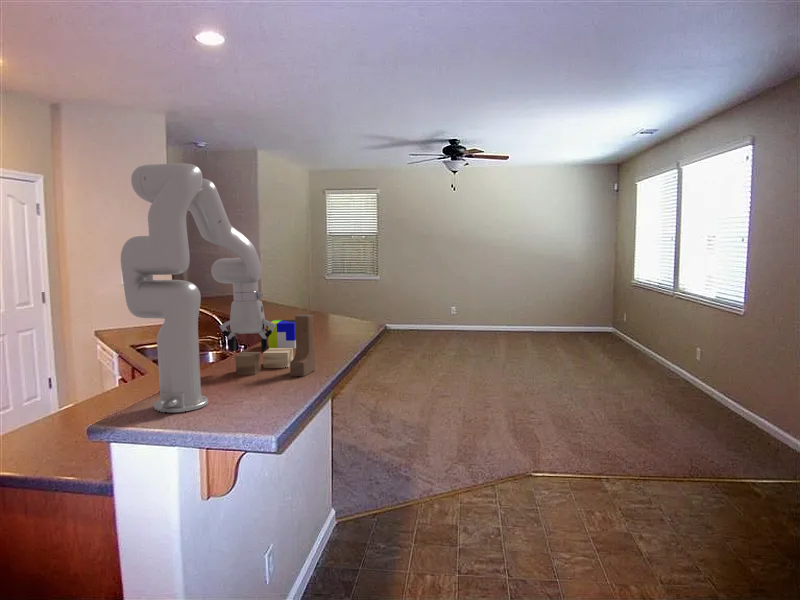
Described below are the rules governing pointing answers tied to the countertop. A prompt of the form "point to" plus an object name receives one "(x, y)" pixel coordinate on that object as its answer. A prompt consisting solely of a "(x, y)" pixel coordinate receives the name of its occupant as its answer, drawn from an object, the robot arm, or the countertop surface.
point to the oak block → (277, 357)
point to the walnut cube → (248, 363)
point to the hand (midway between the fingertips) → (248, 350)
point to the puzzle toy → (283, 334)
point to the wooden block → (303, 346)
